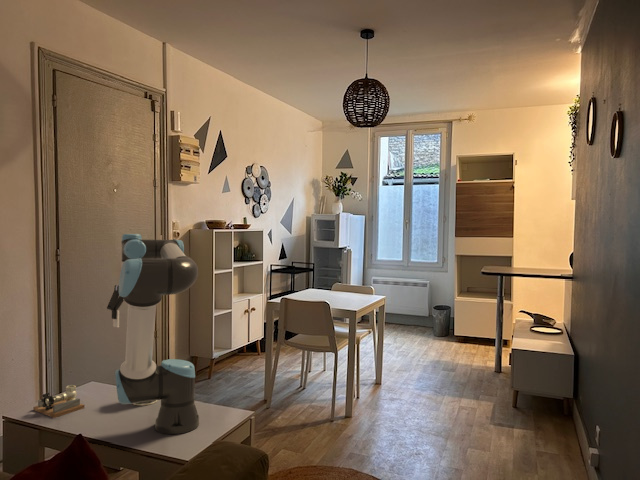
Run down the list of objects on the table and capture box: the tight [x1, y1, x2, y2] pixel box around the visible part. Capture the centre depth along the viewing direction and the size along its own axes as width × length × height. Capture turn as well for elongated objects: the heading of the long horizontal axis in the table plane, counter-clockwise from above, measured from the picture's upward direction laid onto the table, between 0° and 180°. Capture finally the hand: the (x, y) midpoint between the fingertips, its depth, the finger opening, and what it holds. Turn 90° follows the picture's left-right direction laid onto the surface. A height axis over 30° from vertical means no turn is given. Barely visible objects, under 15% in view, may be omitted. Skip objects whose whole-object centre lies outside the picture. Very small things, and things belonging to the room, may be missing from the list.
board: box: [33, 393, 85, 419], centre depth 188 cm, size 14×12×4 cm
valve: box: [40, 384, 78, 411], centre depth 189 cm, size 7×7×12 cm
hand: (130, 324), depth 197 cm, fingers open, 13 cm apart
